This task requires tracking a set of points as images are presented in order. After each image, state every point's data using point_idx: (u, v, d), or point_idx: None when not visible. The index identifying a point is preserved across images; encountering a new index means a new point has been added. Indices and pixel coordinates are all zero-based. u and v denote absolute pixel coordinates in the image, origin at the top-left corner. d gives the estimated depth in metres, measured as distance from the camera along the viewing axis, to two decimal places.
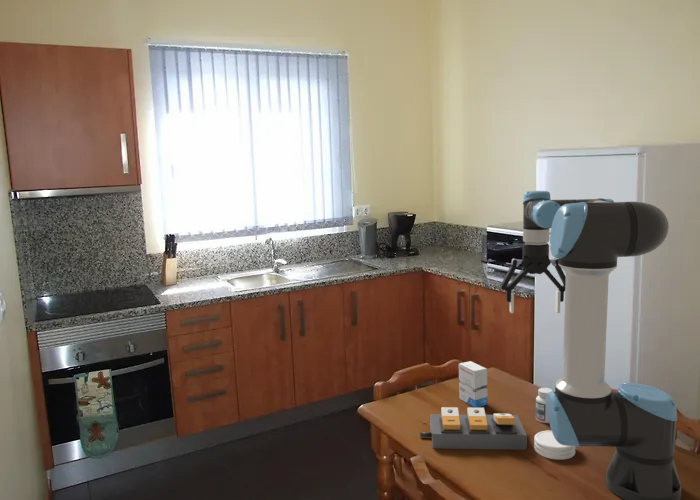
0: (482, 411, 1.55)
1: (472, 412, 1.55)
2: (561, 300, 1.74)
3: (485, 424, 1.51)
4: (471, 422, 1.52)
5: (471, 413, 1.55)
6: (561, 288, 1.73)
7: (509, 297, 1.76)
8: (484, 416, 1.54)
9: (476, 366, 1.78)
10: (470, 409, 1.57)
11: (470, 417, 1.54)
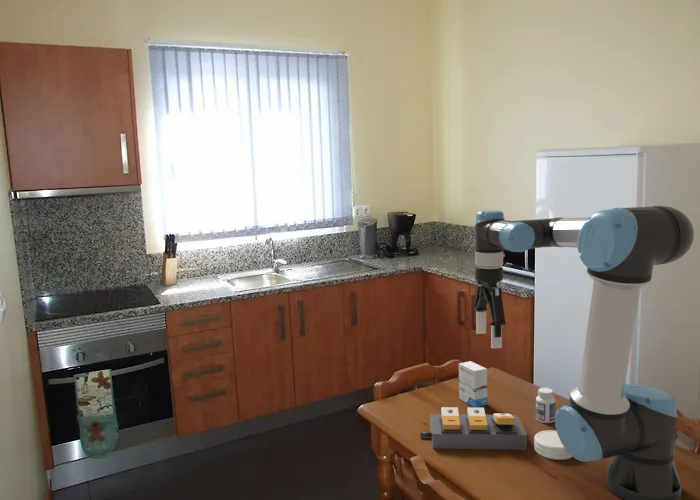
0: (482, 411, 1.55)
1: (472, 412, 1.55)
2: (495, 335, 1.56)
3: (485, 424, 1.51)
4: (471, 422, 1.52)
5: (471, 413, 1.55)
6: (493, 321, 1.56)
7: None
8: (484, 416, 1.54)
9: (476, 366, 1.78)
10: (470, 409, 1.57)
11: (470, 417, 1.54)
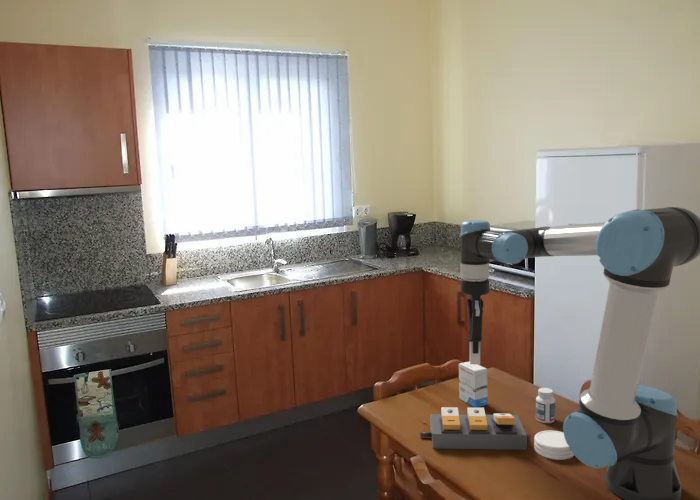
0: (482, 411, 1.55)
1: (472, 412, 1.55)
2: (472, 351, 1.57)
3: (485, 424, 1.51)
4: (471, 422, 1.52)
5: (471, 413, 1.55)
6: (470, 337, 1.56)
7: None
8: (484, 416, 1.54)
9: (476, 366, 1.78)
10: (470, 409, 1.57)
11: (470, 417, 1.54)
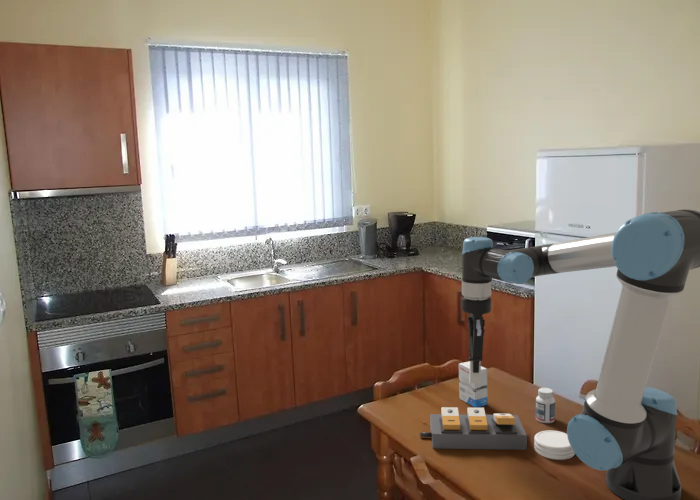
0: (482, 411, 1.55)
1: (472, 412, 1.55)
2: (473, 370, 1.54)
3: (485, 424, 1.51)
4: (471, 422, 1.52)
5: (471, 413, 1.55)
6: (471, 356, 1.53)
7: None
8: (484, 416, 1.54)
9: None
10: (470, 409, 1.57)
11: (470, 417, 1.54)
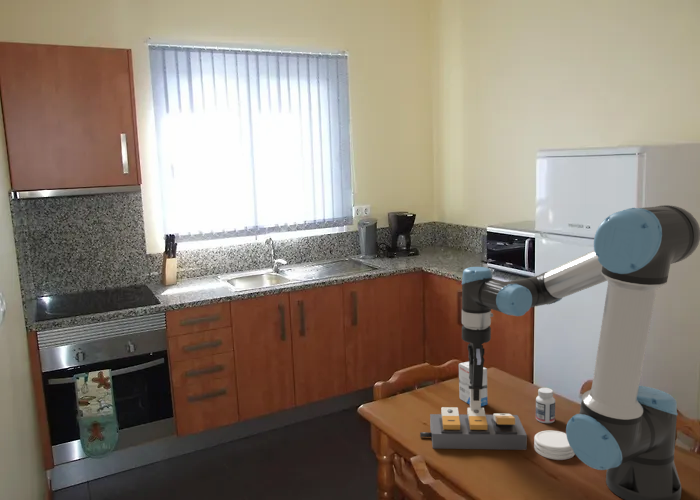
0: (482, 411, 1.55)
1: (472, 412, 1.55)
2: (473, 398, 1.55)
3: (485, 424, 1.51)
4: (471, 422, 1.52)
5: (471, 413, 1.55)
6: (471, 384, 1.55)
7: None
8: (484, 416, 1.54)
9: None
10: (470, 409, 1.57)
11: (470, 417, 1.54)
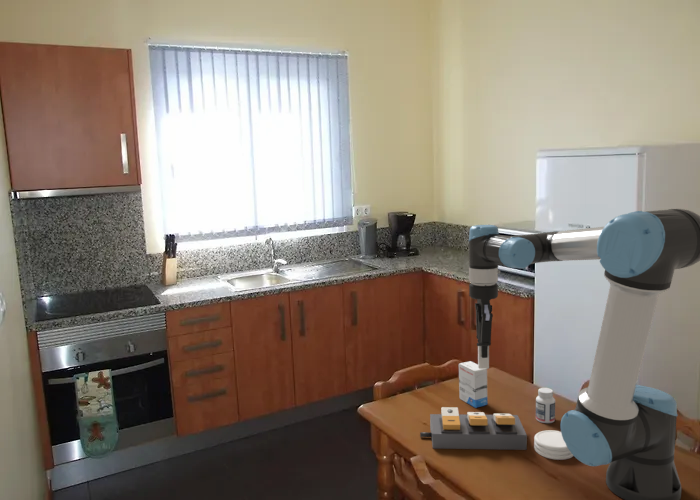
0: (482, 413, 1.56)
1: (472, 414, 1.56)
2: (481, 355, 1.57)
3: (485, 419, 1.51)
4: (471, 418, 1.52)
5: (471, 414, 1.55)
6: (479, 342, 1.56)
7: None
8: (484, 415, 1.54)
9: (476, 366, 1.78)
10: (470, 412, 1.57)
11: (470, 416, 1.54)
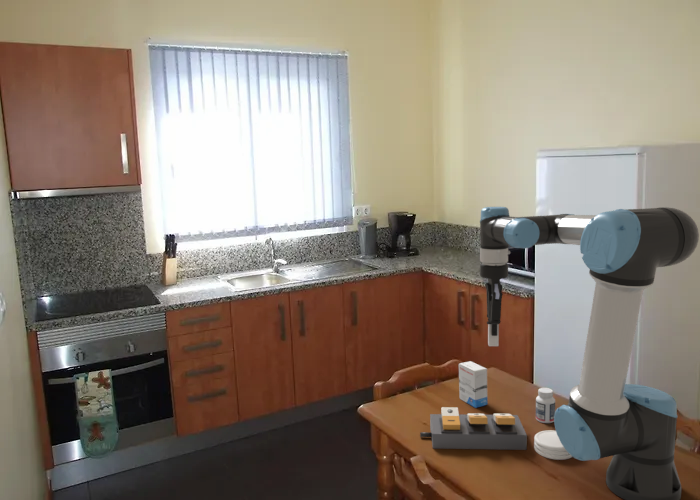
0: (482, 414, 1.56)
1: (472, 414, 1.56)
2: (491, 333, 1.62)
3: (485, 417, 1.51)
4: (471, 416, 1.52)
5: (471, 414, 1.56)
6: (489, 320, 1.61)
7: None
8: (484, 415, 1.54)
9: (476, 366, 1.78)
10: (470, 413, 1.57)
11: (470, 415, 1.54)
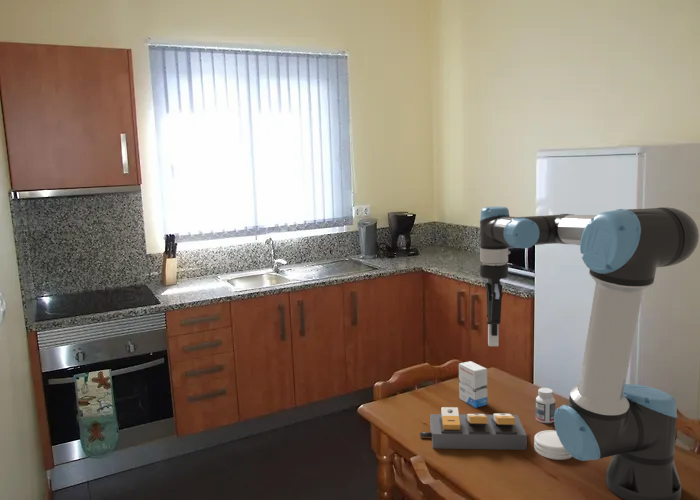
0: (482, 414, 1.56)
1: (472, 414, 1.56)
2: (491, 333, 1.62)
3: (485, 417, 1.51)
4: (471, 416, 1.52)
5: (471, 414, 1.56)
6: (489, 320, 1.61)
7: None
8: (484, 415, 1.54)
9: (476, 366, 1.78)
10: (470, 414, 1.57)
11: (470, 415, 1.54)
